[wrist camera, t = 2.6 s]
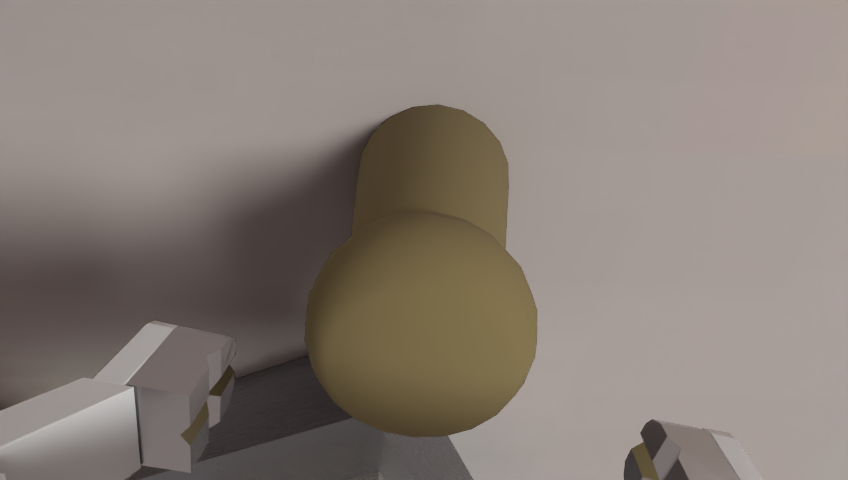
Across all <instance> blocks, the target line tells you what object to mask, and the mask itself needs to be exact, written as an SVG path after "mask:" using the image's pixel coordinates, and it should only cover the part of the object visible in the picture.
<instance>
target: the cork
mask: <svg viewBox="0 0 848 480" xmlns="http://www.w3.org/2000/svg"><path fill="white" fill-rule="evenodd" d="M508 189H509V182H508V162H507V160H506V157H505V154H504V152H503V149H502V146H501V144H500V142H499V140H498V139H497V138H496V137H495V135H494V134H493V133H492V132H491V131H490V129H489V128H488V127H487V126H486V125H485V123H483V122H481V121H480V120H478V119H476V118H475V117H473V116H472V115H470V114H468V113H467V112H465V111H463V110H460V109H455V108H451V107H446V106H442V105H429V106H418V107H412V108H409V109H407V110H405V111H403V112H400V113H398V114H396V115H394V116H391V117H390V118H388V119H387V120H386V121H385V122H384V123H383V124H382V125H381V126H380V127H379V128H378V129H376V130H375V131H374V132H373V133H372V135H371V137H370V139H369V140H368V142H367V144H366V146H365V148H364V150H363V152H362V153H361V159H360V165H359V171H358V178H357V187H356V196H355V205H354V214H353V223H352V232H351V237H350V238H349V239H348V240H347V241H345V242H344V243H343V244H342V245H341V246H339V247H338V248H337V249H336V250H334V251H333V252H332V253H331V254H330V256H329V258H328V260H327V261H326V263H325V265H324V267H323V268H322V270H321V272H320V274H319V275H318V277H317V279H316V281H315V283H314V285H313V287H312V289H311V291H310V293H309V297H308V305H307V313H306V321H305V343H306V347H307V351H308V354H309V358H310V362H311V365H312V368H313V370H314V372H315V374H316V376H317V378H318V380H319V382H320V383H321V385H322V386H323V387H324V389H325V390H326V392H327V393H328V395H329V396H330V397H331V399H332V400H333V402H334V403H335V404H337V405H338V406H339V407H340V408H342V409H343V410H344V411H346V412H347V413H348V414H349V415H351V416H352V417H353V418H354V419H356V420H357V421H360V422H362V423H364V424H367V425H369V426H371V427H373V428H376V429H378V430H380V431H383V432H387V433H392V434H397V435H403V436H408V437H443V436H447V435H451V434H455V433H458V432H462V431H466V430H470V429H473V428H474V427H476V426H478V425H480V424H482V423H483V422H485V421H487V420H489V419H490V418H492V417H494V416H496V415H497V414H498V413H499V412H500V411H501V410H502V409H503V408H504V407H505V406H506V404H507V403H508V402H509V401H510V400H511V399H512V398H513V397H514V396H515V395H516V393H517V392H518V391H519V389H520V388H521V386H522V385H523V384H524V382H525V379H526V377H527V375H528V372H529V370H530V368H531V365H532V363H533V360H534V358H535V353H536V345H537V308H536V305H535V302H534V299H533V295H532V293H531V290H530V288H529V285H528V283H527V280H526V278H525V275H524V273H523V271H522V268H521V266H520V265H519V264H518V263H517V262H516V261H515V260H514V259H513V257H512V256H511V255H510V254H509V253H508V252H507V251H506V250H505V247H506V228H507V208H508Z"/></svg>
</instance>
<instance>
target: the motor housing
mask: <svg viewBox="0 0 848 480" xmlns="http://www.w3.org/2000/svg"><path fill="white" fill-rule="evenodd" d="M129 480H473V479H472V477H471V475H470V474H469V472H468V470H467V468H466V467H465V465H464V463H463V462H462V460H461V458H460V456H459V455H458V453H457V451H456V450H455V448H454V446H453V444H452V443H451V441H450V439H449V438H448V436H443V437H408V436H403V435H397V434H392V433H387V432H383V431H380V430H378V429H376V428H373V427H371V426H369V425H367V424H364V423H362V422H360V421H357V420H356V419H354V418H353V417H352V416H351V415H349V414H348V413H347V412H346V411H344V410H343V409H342V408H340V407H339V406H338V405H337V404H335V403H334V402H333V400H332V399H331V397H330V396H329V395H328V393H327V392H326V390H325V389H324V387H323V386H322V385H321V383H320V382H319V380H318V378H317V376H316V374H315V372H314V370H313V368H312V365H311V362H310V358H309V356H306V357H302V358H299V359H296V360H293V361H290V362H287V363H284V364H281V365H278V366H275V367H272V368H269V369H266V370H263V371H260V372H257V373H254V374H251V375H248V376H245V377H242V378H238V379H235V381H234V387H233V392H232V396H231V399H230V401H229V404H228V407H227V410H226V411H225V413H224V415H223V417H222V419H221V421H220V422H219V423H217V424H215V425H214V426H212V427H210V428H209V442H208V444H207V445H206V447H205V449H204V451H203V452H202V454H201V456H200V458H199V459H198V461H197V463H196V465H195V466H194V468H193V470H192V472H191V473H188V472H182V471H175V470H169V469H162V468H156V467H149V466H143V465H141V468H140V469H139V470H138V471H136V472H135V473H133V474H132V475H131V477H130V478H129Z"/></svg>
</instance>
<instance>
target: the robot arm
mask: <svg viewBox="0 0 848 480" xmlns="http://www.w3.org/2000/svg"><path fill="white" fill-rule="evenodd" d="M235 354H236V351H235V339H234V338H233V337H230V336H225V335H221V334H216V333H212V332H207V331H203V330H198V329H194V328H189V327H184V326H177V325H173V324H168V323H164V322H159V321H152V322H149V323H147V324H146V325H145V326H144V327H143V328H142V329H141V330H140V331H139V332H138V333H137V334H136V335H135V336H134V337H133V338H132V339H131V340H130V341H129V342H128V343H127V344H126V345H125V346H124V347H123V348H122V349H121V350H120V351H119V352H118V353H117V354H116V355H115V356H114V357H113V358H112V359H111V360H110V361H109V362H108V363H107V364H106V365H105V366H104V367H103V369H102V370H101V371H100V372H99V373H98V374H97V375H96V376H95V377H94V378H93V379H89V378H84V377H83V378H81V379H78V380H76V381H73V382H71V383H68V384H66V385H63V386H61V387H58V388H56V389H53V390H51V391H48V392H46V393H44V394H41V395H39V396H36V397H34V398H31V399H29V400H26V401H24V402H21V403H19V404H16V405H14V406H11V407H9V408H6V409H4V410H1V411H0V480H125V479H126V478H128V477H129V476H130V475H132V474H133V473H135V472H136V471H138V470H139V469H140V468H141V465H143V466H149V467H156V468H162V469H169V470H175V471H182V472H188V473H191V472H192V470H193V468H194V466H195V465H196V463H197V461H198V459H199V458H200V456H201V454H202V452H203V451H204V449H205V447H206V445H207V444H208V442H209V428H210V427H212V426H214V425H215V424H217V423H219V422H220V421H221V419H222V417H223V415H224V413H225V411H226V410H227V407H228V404H229V401H230V399H231V396H232V392H233V387H234V381H235V372H234V370H233V369H232V367H231V366H230V365H229V364H230V362H231V361H232V359H233V357H234V356H235ZM641 436H642V439H643V443H641V444H639V445H637V446H635V447H634V448H632V449H631V450H630V452H629V454H628V456H627V459H626V461H625V468H624V480H763V478H762V477H761V475H760V474H759V472H758V471H757V469H756V468H755V466H754V465H753V463H752V462H751V460H750V459H749V457H748V456H747V454H746V453H745V451H744V450H743V448H742V447H741V445H740V444H739V442H738V441H737V439H736V438H735V437H733V436H732V435H731V434H729V433H726V432H721V431H715V430H709V429H704V428H703V429H700V428H696V427H691V426H685V425H680V424H675V423H669V422H664V421H659V420H654V419H652V420H650V421H649V422H647V423H646V424H645V426H644V427H643V429H642V431H641Z"/></svg>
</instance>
